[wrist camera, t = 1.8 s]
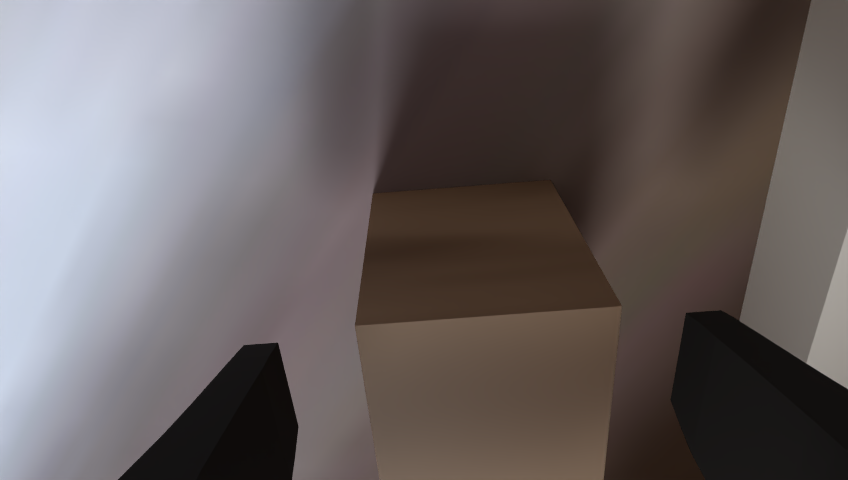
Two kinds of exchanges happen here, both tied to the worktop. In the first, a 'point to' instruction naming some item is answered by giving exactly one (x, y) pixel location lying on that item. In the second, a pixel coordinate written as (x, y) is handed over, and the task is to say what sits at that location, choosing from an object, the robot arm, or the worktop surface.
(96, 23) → the worktop surface
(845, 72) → the riser
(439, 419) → the block
